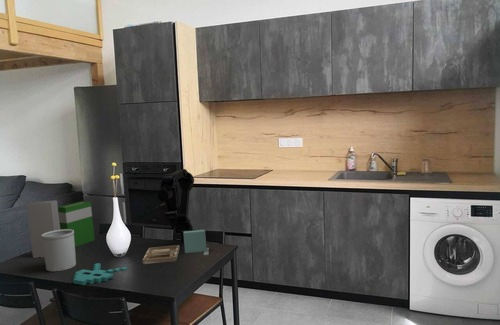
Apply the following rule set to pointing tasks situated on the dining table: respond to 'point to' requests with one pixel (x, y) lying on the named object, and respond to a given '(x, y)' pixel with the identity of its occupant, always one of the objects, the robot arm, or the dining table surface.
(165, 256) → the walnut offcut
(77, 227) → the hardback book
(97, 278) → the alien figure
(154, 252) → the pine offcut
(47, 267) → the utensil holder
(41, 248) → the grey upright box
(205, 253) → the grey mat
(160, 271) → the dining table surface
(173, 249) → the rack
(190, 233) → the teal square block
